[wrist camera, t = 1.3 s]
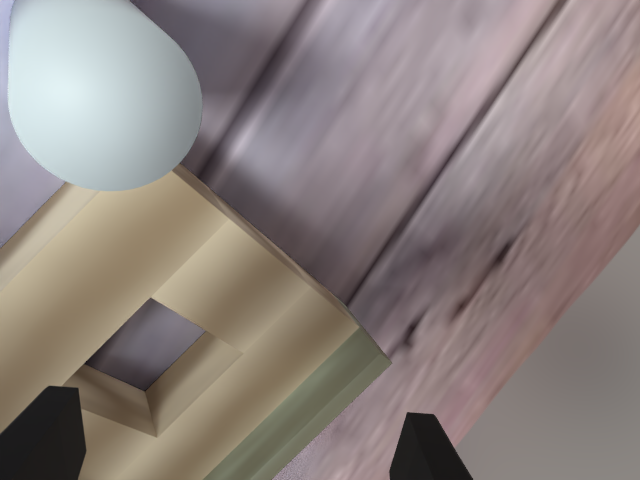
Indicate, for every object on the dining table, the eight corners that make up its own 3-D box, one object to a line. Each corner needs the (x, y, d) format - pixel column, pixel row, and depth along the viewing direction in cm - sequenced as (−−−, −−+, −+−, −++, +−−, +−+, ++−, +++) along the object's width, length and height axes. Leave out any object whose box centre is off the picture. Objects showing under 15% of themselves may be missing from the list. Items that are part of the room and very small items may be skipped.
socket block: (-152, 402, 20) (-189, 517, 17) (128, 118, 20) (155, 170, 16) (150, 491, 30) (170, 576, 26) (343, 303, 30) (392, 362, 26)
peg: (-21, 32, 17) (-39, 110, 11) (69, -61, 17) (102, -35, 10) (87, 119, 19) (121, 222, 13) (165, 39, 19) (236, 105, 13)
